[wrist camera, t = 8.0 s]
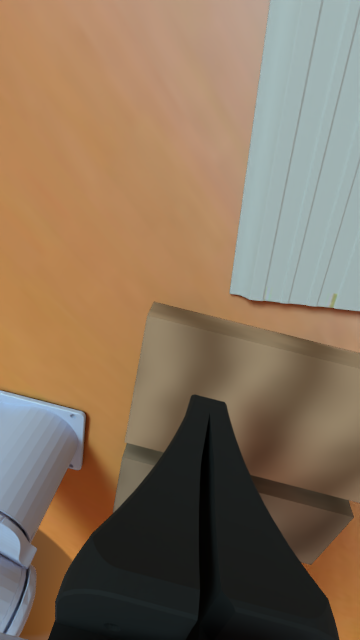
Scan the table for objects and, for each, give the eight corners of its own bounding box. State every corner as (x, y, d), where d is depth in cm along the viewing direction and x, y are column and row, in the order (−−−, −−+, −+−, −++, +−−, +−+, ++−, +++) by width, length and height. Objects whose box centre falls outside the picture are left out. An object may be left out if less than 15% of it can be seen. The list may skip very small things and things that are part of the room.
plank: (131, 423, 28) (124, 442, 26) (153, 301, 22) (147, 315, 20) (359, 482, 28) (367, 505, 26) (445, 374, 22) (463, 394, 20)
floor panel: (118, 493, 34) (112, 512, 32) (131, 426, 28) (124, 445, 27) (307, 542, 33) (311, 564, 32) (355, 484, 28) (363, 507, 26)
